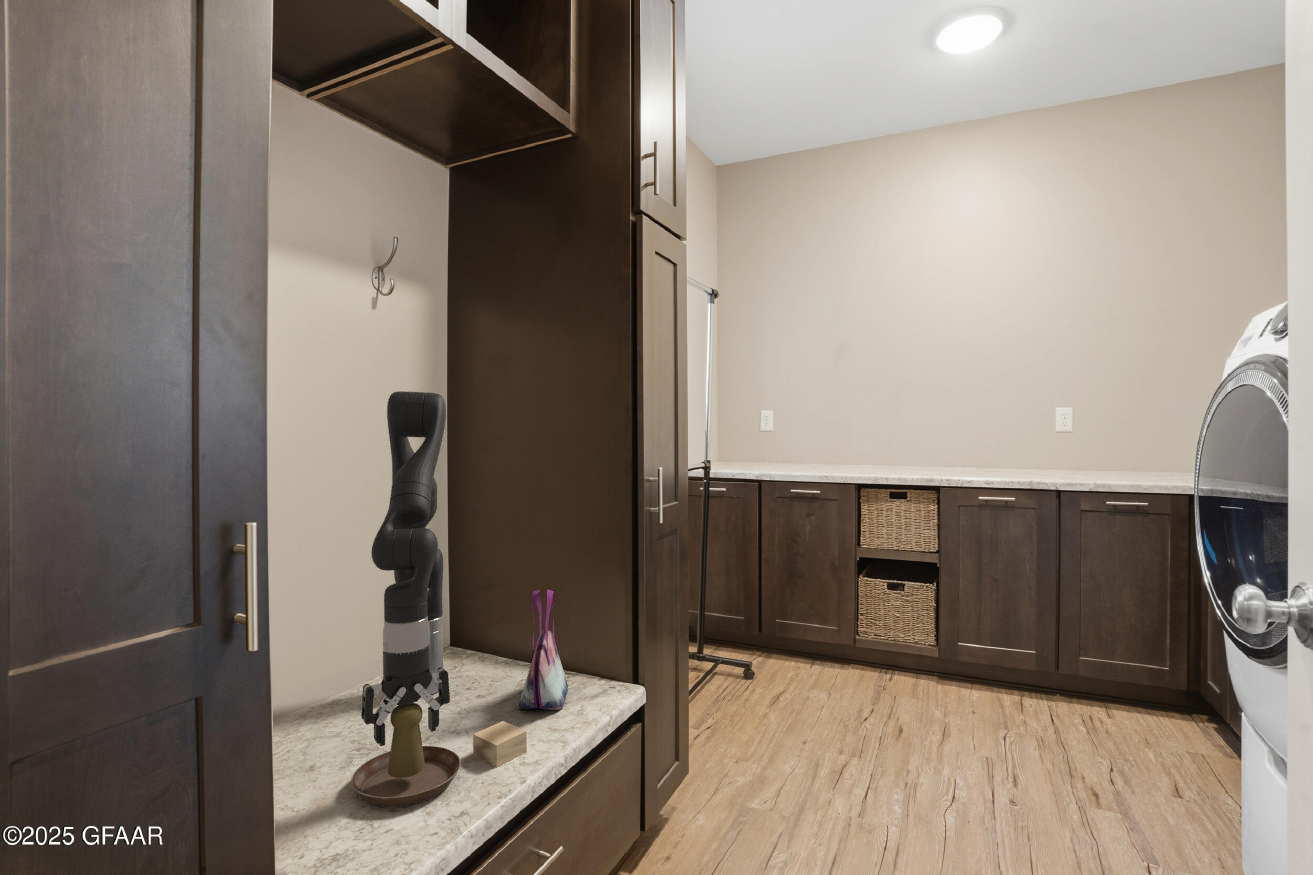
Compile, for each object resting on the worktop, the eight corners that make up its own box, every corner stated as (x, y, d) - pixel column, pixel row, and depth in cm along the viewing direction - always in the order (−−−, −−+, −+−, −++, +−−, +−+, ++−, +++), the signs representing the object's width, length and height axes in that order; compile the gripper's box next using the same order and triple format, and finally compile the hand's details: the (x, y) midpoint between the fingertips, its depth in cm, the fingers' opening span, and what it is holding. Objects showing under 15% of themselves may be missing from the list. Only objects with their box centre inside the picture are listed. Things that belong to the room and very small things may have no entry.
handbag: (530, 681, 158) (529, 579, 158) (571, 681, 158) (570, 579, 158) (512, 721, 136) (511, 603, 136) (560, 720, 137) (559, 602, 136)
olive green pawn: (412, 779, 109) (412, 715, 109) (380, 775, 110) (380, 711, 110) (431, 761, 115) (432, 700, 115) (401, 757, 116) (401, 696, 116)
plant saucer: (421, 750, 125) (421, 735, 125) (481, 779, 115) (481, 762, 115) (330, 793, 111) (330, 775, 111) (390, 829, 100) (390, 810, 100)
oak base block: (473, 755, 122) (472, 734, 122) (502, 741, 128) (502, 721, 128) (496, 767, 118) (496, 745, 118) (526, 751, 124) (526, 730, 123)
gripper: (440, 630, 120) (440, 718, 120) (357, 646, 111) (357, 740, 111) (454, 641, 114) (455, 733, 114) (367, 658, 105) (368, 758, 105)
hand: (407, 736), depth 113 cm, fingers open, 8 cm apart
